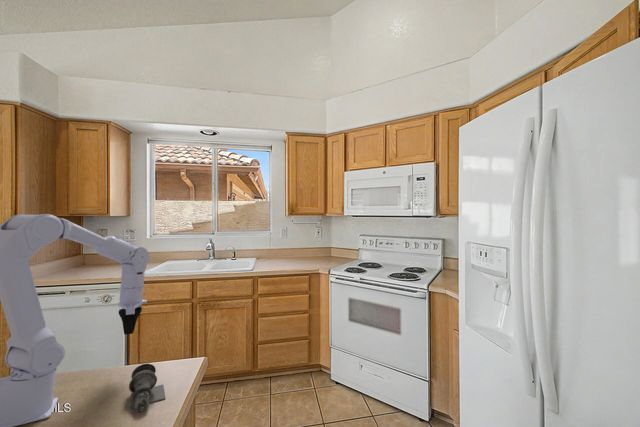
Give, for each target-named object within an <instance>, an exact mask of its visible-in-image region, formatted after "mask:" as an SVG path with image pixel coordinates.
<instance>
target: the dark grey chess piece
mask: <svg viewBox="0 0 640 427" xmlns="http://www.w3.org/2000/svg"><path fill="white" fill-rule="evenodd" d="M156 372H157V370H156V367H155V365H154V364H152V363H143V364H140V365H138V366H137V367H135V368H134V369H133V371H132V372H131V376H130V378H131V380H130V381H129V384H128V390H129V391H130V393H131V392H132V393H134V397H133V399H134V400H135V408H134V410H135V411H137V412H143V411H144V410H146V409H147V408H148V407H149V405H150V403H149V397H150V396H151V389H152V388H153V387H155V386H156V385H157V382H158V378H157V375H156Z"/></svg>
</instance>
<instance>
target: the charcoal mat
mask: <svg viewBox="0 0 640 427" xmlns="http://www.w3.org/2000/svg"><path fill="white" fill-rule="evenodd" d="M133 397H134V393H132V392H131V391H130V409H135V400H134V399H133ZM164 400H166V392H165V387H164V384H159V385H155V386H154V387H153V388H152V389H151V396H150V397H149V404H152V403H157V402H159V401H164Z"/></svg>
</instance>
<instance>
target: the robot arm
mask: <svg viewBox="0 0 640 427" xmlns="http://www.w3.org/2000/svg"><path fill="white" fill-rule="evenodd" d="M59 239H60V240H64V239H66V240H70V241H73V242H75V243H78V244H81V245H83V246H84V245H85V246H88V247H91V248H94V249H95V250H96V253H97V254H98V255H99V256H102V257H105V258H107V259H109V260H113V261H116V262H118V263H119V264H120V265H121V278H120V289H119V290H120V292H119V302H118V303H117V304H118V305H117V306H118V307H119V308H120V309H119V310H118V315H119V317H120V319H121V322H122V329H123V330H122V331H123V334H124V335H133V334H134V331H135V328H136V326H137V325H136V324H137V321H138V318H139V316H140V315H141V314H142V313H141V312H142V310H143V307H142V305H143V304H147V302H148V300H147V299H144V298H143V296H144V286H145V284H144V283H145V274H146V273H145V271H146V269H147V266H148V263H149V262H150V260H151V258H152V257H151V255H150V252H149V251H148V249H147V248H145V247H141V246H136V245H135V243H133V242H127V241H125V240H123V239H121V236H119V235H108V236H104V237H103V235H100V234H97V233H95V232H93V231H91V230H89V229H86V228H84V227H83V226H80V225H78V224H76V223H74V222H72V221H69V220H68V219H65V218H61V217H58V216H55V215H54V214H51V213H50V214H48V213H43V214H24V213H23V214H21V213H20V214H15V215H13V216H11V217H9V218H8V219H7V220H5V221H4V222H3V223H2V224H0V304H1V307H2V311H3V314H4V317H5V320H6V323H7V326H8V330H9V334H10V337H9V338H8V339H7V340H6V342H5V343H6V347H7V348H6V353H5V355H4V362H5V365H6V366H7V367H9V368H11V369H10V372H9V375H7V376H3V377H0V427H17V426H21V425H26V424H28V423H33V422H37V421H42V420H46V419H49V418H50V417H52V413H53V411H54V409H55V407H56V405H57V404H58V403H57V402H58V401H59V397H54V394H55V393H54V392H55V383H56V373H57V372H56V371H57V368H58V366H60V364H61V363H62V362H63V360H64V359H65V354H66V349H65V347H64V345H62V344H60V343H59V342H58V341H57V337H56V334H54V333H53V332H52V331H51V330H50V328H48V327H47V325H46V321H45V317H44V313H43V310H42V306H41V302H40V299H39V295H38V291H37V288H36V284H35V282H34V278H33V274H32V269H31V266H30V263H29V262H30V261H29V260H30V259H32V257H33V256H34V255H35V254H37V252H38V251H39V250H42V248H45V247H46V246H48V245H50V244H52V243H53V242H55V241H56V240H59Z"/></svg>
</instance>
